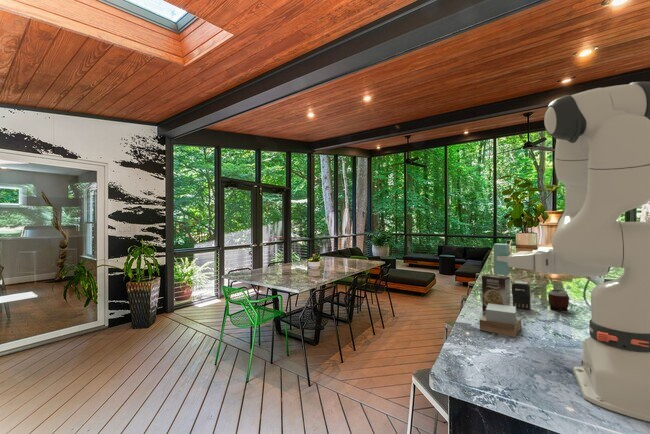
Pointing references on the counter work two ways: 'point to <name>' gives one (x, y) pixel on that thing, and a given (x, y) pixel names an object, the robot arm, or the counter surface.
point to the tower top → (501, 313)
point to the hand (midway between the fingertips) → (499, 257)
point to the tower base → (500, 327)
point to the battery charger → (521, 295)
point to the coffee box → (495, 290)
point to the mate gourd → (558, 298)
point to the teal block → (501, 266)
